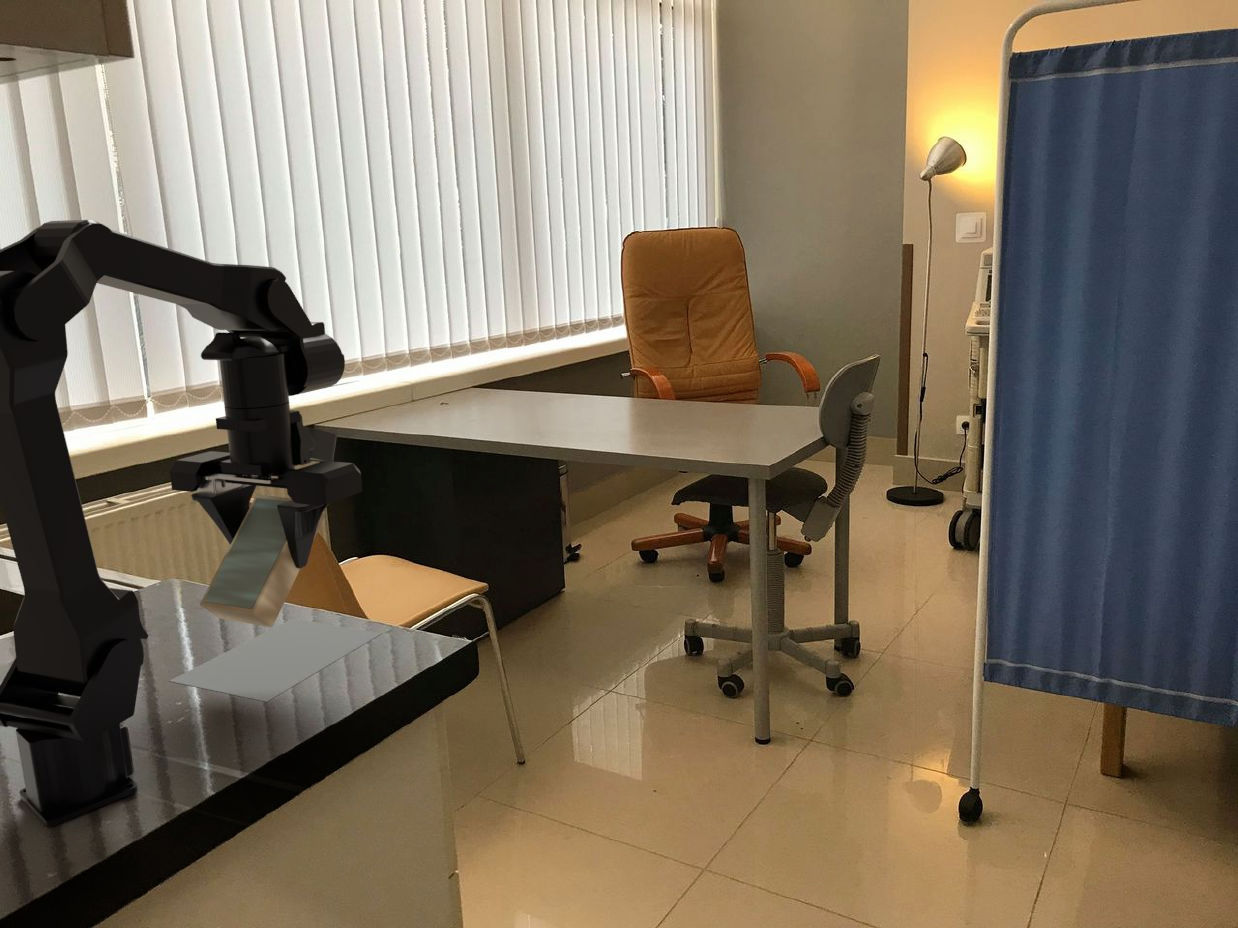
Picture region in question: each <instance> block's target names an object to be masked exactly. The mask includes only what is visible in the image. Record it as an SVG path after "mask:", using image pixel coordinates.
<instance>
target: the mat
mask: <svg viewBox="0 0 1238 928" xmlns="http://www.w3.org/2000/svg"><path fill="white" fill-rule="evenodd" d="M382 634H383V633H382V632H376V631H372V630H371V631H370V630H365V629H360V628H353V627H346V626H341V625H335V624H328V623H323V622H318V621H312V620H311V621H310V620H306V619H305V620H304V619H298V618H294V617H293V618H290V619H288V620H286V621H285V622H283V623H280V624H279V625H276V626H274V627H272V628H271V629H269V630H267V631H265V632H263V633H261V634H259V635H257V636H254V637H253V638H251V639H249V640H247V641H245V642H243V643H242V644H239V645H237V646H235V647H233V648H231V649H230V650H228V651H225V652H224V653H221V654H220V655H218V656H215V657H213V658H212V659H209V660H208V661H206V662H204V663H202V664H200V665H197V666H195V667H194V668H192V669H190V670H188V671H186V672H184V673H182V674H179V675H178V676H176V677H174V678H172V679H169V682H171V683H175V684H179V685H185V686H190V687H195V688H198V689H203V690H206V691H207V690H209V691H212V692H213V691H214V692H217V693H221V694H227V695H232V696H236V697H241V698H245V699H250V700H253V701H254V700H255V701H260V702H265V703H268V702H269V701H271V700H273V699H274V698H276V697H278V696H280V695H281V694H283V693H284V692H287V691H288V690H290V689H291V688H293V687H295V686H298V684H300V683H301V682H303V681H305V680H307V679H309V678H310V677H312V676H314V675H315V674H317V673H318V672H320V671H322V670H323V669H325V668H327V667H328V666H330V665H332V664H334V663H335V662H337V661H339V660H341V659H342V658H344V657H345V656H347V655H349V654H350V653H352V652H354V651H355V650H356V649H359V648H360V647H362V646H364V645H366V644H367V643H369V642H370V641H372V640H374V639H376V638H377V637H379V636H380V635H382Z"/></svg>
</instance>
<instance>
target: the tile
mask: <svg viewBox="0 0 1238 928" xmlns="http://www.w3.org/2000/svg"><path fill="white" fill-rule="evenodd" d="M290 500H292V499H291V498H290V497H281V496H274V495H263V494H256V495H255V497H254V498H253V500H252V502H251V504H250V505H249V510H248V512H247V514H246V516H245V518H244V520H243V522H242V523H241V525H240V527H239V529H238V531H237V533H236V535H235V537H234V539H233V541H232V543H231V545H230V544H229V547H228V549H227V550H226V552H225V554H224V556H223V558H222V560H221V562H220V564H219V566H218V568H217V569H216V571H215V574H214V575H213V577H212V580H211V582H210V584H209V586H208V588H207V589H206V591H205V593H204V595H203V597H202V599H201V601H200V603H199V606H200V607H202V608H204V609H205V610H206V611H208V612H209V613H210V614H212V615H213V616H215V617H216V618H218V619H222V620H227V621H233V622H240V623H243V624H244V623H245V624H249V625H250V624H251V625H255V626H261V627H267V628H274V625H275V623H276V621H277V620H278V619H277V618H278V616H279V614H280V612H281V610H282V608H283V606H284V603H285V602H286V600H287V598H288V595H289V593H290V592H291V589H292V587H293V585H294V582H295V580H296V578H297V576H298V575H299V572H300V570H301V568H300V569H299V568H296V566H295V564H294V562H293V559H292V557H291V554H290V550H289V547H288V543H287V540H286V536H285V533H284V529H283V526H282V522H281V519H280V515H279V512H278V508H277V505H278V504H281V503H284V502H287V501H290ZM325 517H326V515H325V514H324V512H323V513H322V516H321V518H320V521H319V523H318V526H317V529H316V532H315V537H314V540H315V539H316V536H317V534H318V532H319V530H320V528H321V526H322V523H323V521H324V519H325ZM314 540H313V542H314Z"/></svg>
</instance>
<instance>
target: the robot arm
mask: <svg viewBox="0 0 1238 928" xmlns="http://www.w3.org/2000/svg"><path fill="white" fill-rule="evenodd" d="M286 280H287V276H286V275H285V274H284V273H283V272H282V271H281V270H279V269H277V268H276V267H272V266H263V265H252V264H235V263H234V264H232V263H230V264H229V263H215V262H210V261H207V260H204V259H201V258H199V257H195V256H193V255H189V254H186V253H183V252H180V251H177V250H174V249H171V248H168V247H165V246H161V245H158V244H155V243H152V242H149V241H146V240H144V239H142V238H141V239H140V238H137V237H134V236H132V235H128V234H125V233H122V232H119V231H117V230H113V229H110V228H109V227H108V226H106V225H105V224H102V223H100V222H99V221H96V220H91V219H90V220H89V219H78V220H77V219H74V220H73V219H72V220H70V219H69V220H68V219H67V220H50V221H48V222H44V223H43V224H41V225H40V226H38V227H36V228H34V229H33V230H32V231H30V232H29V233H28V234H27V235H25V236H24V237H22V238H21V239H19V240H18V241H16V242H14V243H11V244H10V245H7V246H5V247H3V248H1V249H0V505H1V506H0V507H1V509H2V512H3V517H4V519H5V523H6V527H7V530H8V534H9V538H10V542H11V546H12V549H13V551H14V552H13V553H14V556H15V560H16V564H17V567H18V571H19V574H20V579H21V582H22V586H23V590H24V591H23V592H24V596H23V599H22V601H21V604H20V607H19V609H18V612H17V615H16V618H15V621H14V624H13V630H12V631H13V640H14V649H15V658H14V660H13V662H12V664H11V666H10V667H9V669H8V671H7V673H6V674H5V676H4V678H3V679H2V681H1V683H0V727H3V728H8V727H10V728H13V729H14V728H16V729H15V734H16V740H17V747H18V753H19V758H20V762H21V763H20V764H21V768H22V769H21V770H22V775H23V780H24V781H23V782H24V786H25V787H24V788H22V789H20V791H19V797H20V799H21V800H22V802H24V803H25V805H26V806H27V807H28V808H29V809H30V810H31V811H32V813H34V814H35V816H37V817H38V818H39V819H40V821H42V823H43V824H45V825H46V826H49V827H51V826H55V825H58V824H61V823H63V822H65V821H68V820H70V819H72V818H75V817H78V816H81V815H83V814H85V813H88V812H90V811H92V810H95V809H99V808H100V807H103V806H106V805H107V804H110V803H112V802H115V801H117V800H118V801H119V799H123V798H125V797H128V796H130V795H132V794H134V793H136V792H138V789H139V788H138V784H137V782H135V781H134V780H133V779H132V778H131V777H130V776H132V775H133V774H134V772H135V769H134V762H133V755H132V749H131V740H130V734H129V728H128V726H126V725H125V724H124V722H125V721H127V720H128V719H130V718H131V717H134V715H135V710H136V703H137V696H138V690H139V683H140V682H139V681H140V675H141V668H142V666H143V664H144V657H145V653H144V644H143V640H147V639H148V637H149V634H148V633H147V631H146V630H145V629H144V627H143V624H142V622H141V617H140V616H141V615H140V605H139V600H138V598H137V596H136V594H135V592H134V591H133V590H131V589H130V590H129V589H122V588H120V589H119V588H114V587H109V586H108V585H107V583H105V581H103V579H102V578H101V576H100V573H99V570H98V567H97V562H96V558H95V554H94V550H93V546H92V542H91V536H90V534H89V530H88V525H87V521H86V517H85V514H84V509H83V506H82V505H83V504H82V501H81V497H80V493H79V489H78V484H77V482H76V476H75V473H74V468H73V465H72V461H71V457H70V455H71V454H70V453H69V448H68V444H67V440H66V435H65V432H64V428H63V423H62V419H61V415H60V411H59V407H58V404H57V399H56V392H57V388H58V385H59V383H60V378H61V376H62V374H63V371H64V368H65V365H66V361H67V359H68V353H69V352H68V341H67V330H66V329H67V328H66V324H68V323H69V322H70V321H71V320H72V319H74V317H77V315H78V314H79V313H80V312H82V311H83V310H84V309H85V308H86V307H87V306H89V304H90V302H91V299H92V296H93V294H94V292H95V289H96V286H97V284H99V285H103V286H106V287H110V288H114V289H118V290H122V291H125V292H130V293H133V294H137V295H140V296H143V297H148V298H152V299H156V300H159V301H163V302H168V303H172V304H175V305H178V306H180V307H181V308H183V309H185V310H187V312H188V313H189V314H190V316H191V317H192V318H193V319H195V320H197V321H199V322H201V323H203V324H206V325H207V326H209V327H211V328H213V329H215V330H217V331H218V332H216V333H215V335H214V337H213V339H212V341H210V343H209V344H207V345H206V346H205V347H204V349H203V350H202V352H201V353H200V357H201V359H202V360H204V361H219V368H220V376H221V377H220V378H221V388H222V393H223V404H224V405H223V406H224V413H225V416H221V417H216V418H215V422H216V423H215V425H216V430H224V431H226V432H227V440H228V451H229V452H224V451H215V450H214V451H213V450H212V451H206V452H201V453H199V454H195V455H191V456H187V457H184V458H183V457H182V458H180V459H176V460H175V461H174V464H173V465H172V467H171V468H170V471H169V476H170V478H169V479H170V483H171V490H172V491H180V492H186V493H187V492H188V493H192V494H191V495H190V497H191V500H192V501H195V502H198V503H199V505H200V506H201V507H202V508H203V510H204V511H205V512H206V514H207V515H208V516H209V517H210V518H211V520H212V521H213V522H214V524H215V525H216V526H217V528H218V529H219V530H220V532H221V533H222V535H223V536H224V538H225V539H226V541H227V542H228V544H229V546H230V545H231V543H232V541H233V539H234V537H235V535H236V533H237V531H238V529H239V527H240V525H241V523H242V522H243V520H244V518H245V516H246V514H247V512H248V510H249V508H250V502H251V499H252V497H253V495H254V493H255V490H256V488H257V487H265V488H266V487H267V488H276V489H286V493H287V495H288V498H291V499H292V500H290V501H287V502H284V503H281V504H278V505H277V508H278V512H279V515H280V519H281V522H282V526H283V529H284V533H285V536H286V540H287V543H288V547H289V550H290V554H291V557H292V559H293V562H294V564H295V566H296V568H299V569H300V570H301V569H302V568H304V567H306V566H307V564H308V561H309V558H310V555H311V550H312V547H313V543H314V541H313V540H315V539H314V537H315V532H316V529H317V526H318V523H319V521H320V518H321V516H322V513H323V514H324V511H325V510H326V508H327V507H328V506H329V505H330V504H332V503H335V502H338V501H340V500H343V499H345V498H348V497H351V496H354V495H356V494H359V493H361V492H363V482H362V481H363V480H362V473H361V470H360V469H359V468H358V467H357V465H355V463H352V462H345V461H343V462H341V461H334V457H335V451H336V444H337V443H336V442H337V439H338V438H337V437H338V434H337V433H335V432H331V431H326V430H323V429H322V430H321V429H318V428H314V427H310V426H304V423H303V416H302V414H301V413H300V410H294V409H293V410H291V407H290V399H289V398H290V397H292V396H296V395H297V396H298V395H301V394H306V393H310V392H314V391H317V390H318V391H319V390H321V389H322V390H323V389H326V388H331V387H333V386H334V385H337V383H338V382H339V381H340V380H341V378H342V377H343V374H344V372H345V368H346V367H345V366H346V365H345V364H346V361H345V360H346V359H345V355H344V354H343V352H342V349H341V347H340V346H339V344H338V342H337V341H335V339H334V338H333V337H331V336H329V335H328V334H327V333H326V328H325V322H323V321H310V319H309V317H308V315H307V313H306V311H305V310H304V309H303V307H302V305H301V304H300V302H299V300H298V298H297V297H296V295H295V294H294V292H293V290H292V289H291V287H290V284H288V282H286ZM219 331H227V332H219ZM311 462H314V463H313V464H310V463H311ZM315 462H316V463H315ZM308 464H310V465H308ZM304 465H307V466H304ZM296 466H303V467H300V468H296ZM193 492H195V493H193ZM315 538H316V537H315Z"/></svg>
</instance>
